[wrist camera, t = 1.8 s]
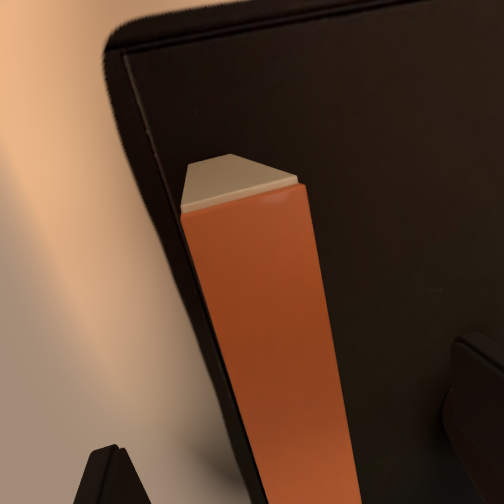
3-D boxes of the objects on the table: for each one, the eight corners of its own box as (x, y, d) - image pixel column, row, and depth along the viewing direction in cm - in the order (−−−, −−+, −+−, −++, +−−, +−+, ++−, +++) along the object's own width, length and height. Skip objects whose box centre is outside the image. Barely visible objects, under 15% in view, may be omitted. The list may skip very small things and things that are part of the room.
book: (231, 153, 23) (304, 176, 8) (269, 309, 27) (365, 521, 12) (187, 164, 23) (176, 209, 8) (232, 320, 27) (283, 550, 12)
